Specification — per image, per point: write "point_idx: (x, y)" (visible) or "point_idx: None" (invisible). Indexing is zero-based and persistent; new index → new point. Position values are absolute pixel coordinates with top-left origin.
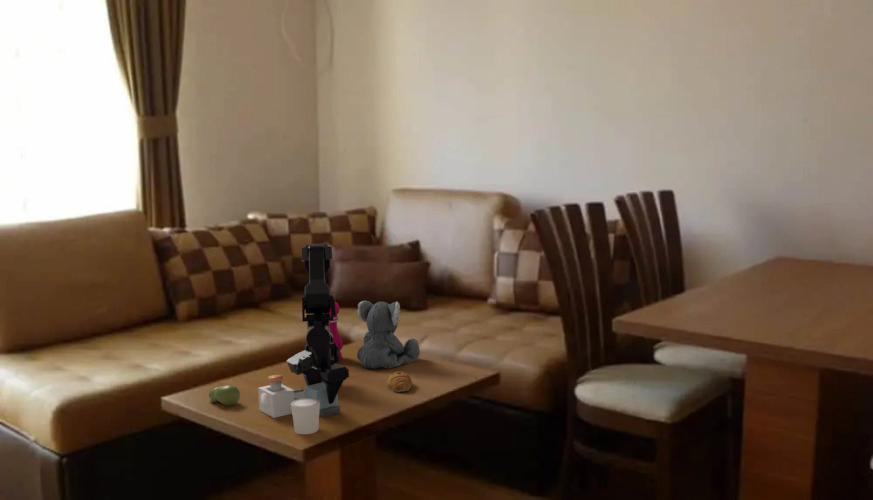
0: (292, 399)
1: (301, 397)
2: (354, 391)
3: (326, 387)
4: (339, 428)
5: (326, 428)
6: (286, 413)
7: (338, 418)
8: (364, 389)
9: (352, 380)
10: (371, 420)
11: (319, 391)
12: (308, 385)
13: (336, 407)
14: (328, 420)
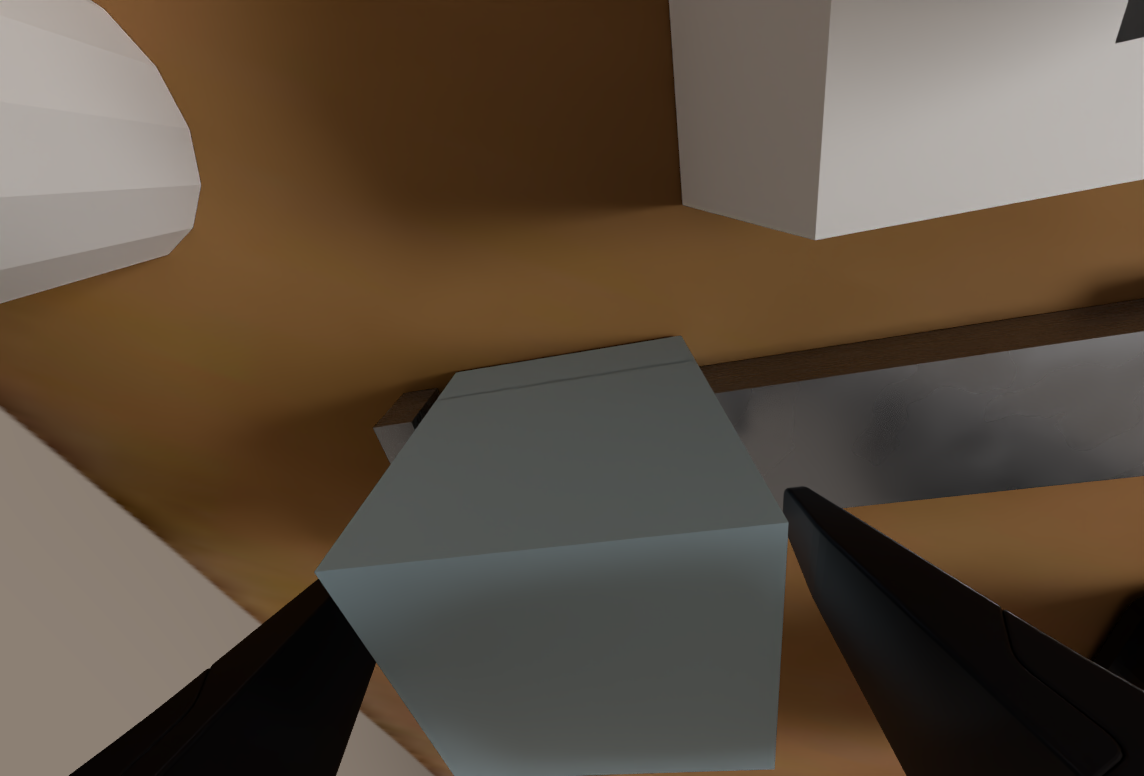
0: (730, 173)
1: (971, 400)
2: (833, 703)
3: (146, 765)
4: (115, 417)
5: (119, 331)
6: (676, 65)
7: (354, 483)
8: (820, 738)
9: None
10: (260, 608)
11: (341, 606)
12: (883, 582)
13: None
14: (327, 411)
